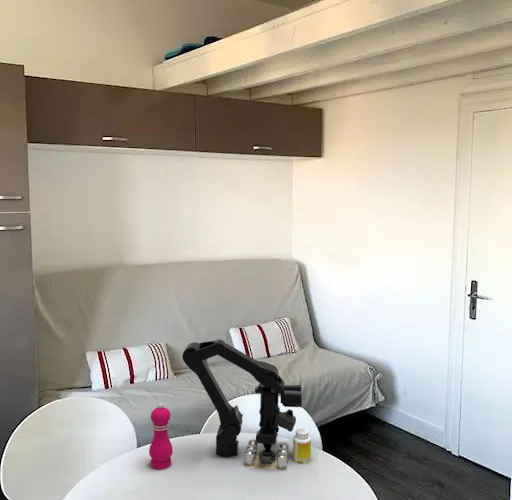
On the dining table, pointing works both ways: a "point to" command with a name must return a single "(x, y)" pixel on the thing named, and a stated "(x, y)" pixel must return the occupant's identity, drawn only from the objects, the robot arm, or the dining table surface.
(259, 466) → the board
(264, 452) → the nut
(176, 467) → the dining table surface
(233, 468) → the dining table surface
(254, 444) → the spacers
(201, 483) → the dining table surface
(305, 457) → the supplement bottle
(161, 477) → the dining table surface
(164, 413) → the pepper mill
